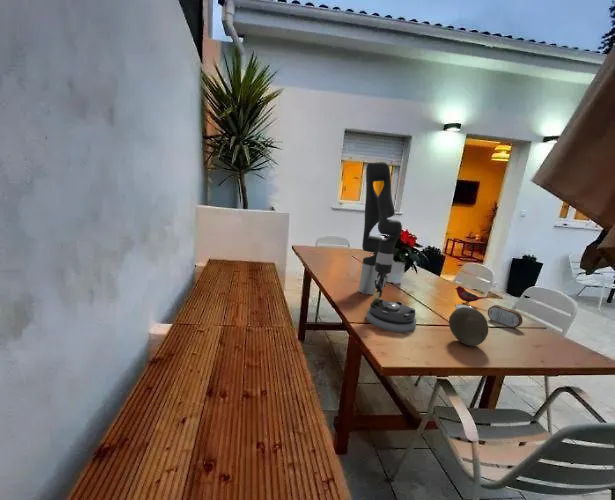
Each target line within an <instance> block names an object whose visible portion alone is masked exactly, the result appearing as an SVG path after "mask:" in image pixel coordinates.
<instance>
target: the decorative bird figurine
mask: <svg viewBox="0 0 615 500" xmlns="http://www.w3.org/2000/svg"><path fill="white" fill-rule="evenodd" d="M454 290H456V294H457V296H458V297H459V299H460V300H462V301H463V302H461V301H460V303H461V304H462V305H470V303H471V302H476V301H478V300H482V299H483V300H484V299H489V297H487V296H478V295H476V294H474V293H473V292H470V291H467V290H466V289H465V288H464V287H463V286H461V285H459V286H458V285H457V287H456V288H454Z"/></svg>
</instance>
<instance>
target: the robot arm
mask: <svg viewBox="0 0 615 500" xmlns="http://www.w3.org/2000/svg"><path fill="white" fill-rule="evenodd" d="M365 170H366V171H365V182H366V183H365V186H366V187H365V189H366V190H365V204H364V225H363V226H364V228H363V236H362V237H363V238H362V245H361V246H362V250H363V251H364V252H369V253H374V254H373V255H371V256H365V257H363V258H362V263H361V264H362V265H361V271H360V279H359V285H358V292H359V293H360V292H361V293H360V294H363V295H368V294H370V296H371V295H372V296H373V295H374V291H379V292H380V294H379V298H381V297H382V294H383V290H384V288H385V287H386V284H387V281H388V278H389V276H388V274H391V273H392V269H393V261H394V254H395V247H396V244H397V242H398V240H399V237H400V235H401V233H402V230H403V229H402V228H403V225H402V223H401V221H400V220H398V219H389V218H392V217H394V215H395V213H396V212H395V207H394V201H393V197H392V181H391V170H390V166H389V163H388V162H387V161H381V162H380V161H378V162H377V161H376V162H375V161H374V162H369V163H367V165H366V169H365ZM374 182H383V187H382V189H381V191H380V193H379V194H377V192H376V190H375V187H374ZM376 225H377V231H378V232H379V233H380V234H381V235H385V236H388V237H387V238H382V237H380V236H379V237H378V236H373V235H371V234H370V233H371V232H372V230H373V229H374V227H375V226H376Z"/></svg>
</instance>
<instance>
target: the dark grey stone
mask: <svg viewBox="0 0 615 500" xmlns="http://www.w3.org/2000/svg"><path fill="white" fill-rule="evenodd" d="M455 309H456V308H455ZM455 309H454V310H453V312H452V313H451V314H450V315H449V318H448V325H449V326H448V327H449V330H450V331H451V333H452V335H453V336H454V337H455V339H457V340H458V341H460V342H461V343H462V344H464V345H467V346H470V347H475V346H478V345H481V344H482V343H483V342H484V341H485V340H486V339H487V337H488V334H489V323H488V320H487V318H486V317H485V315H484V314H483V313H482V312H481V311H479V310H478V309H475V308H474V309H473V307H472V308H466V307H462V308H459V309H456V310H455Z"/></svg>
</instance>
